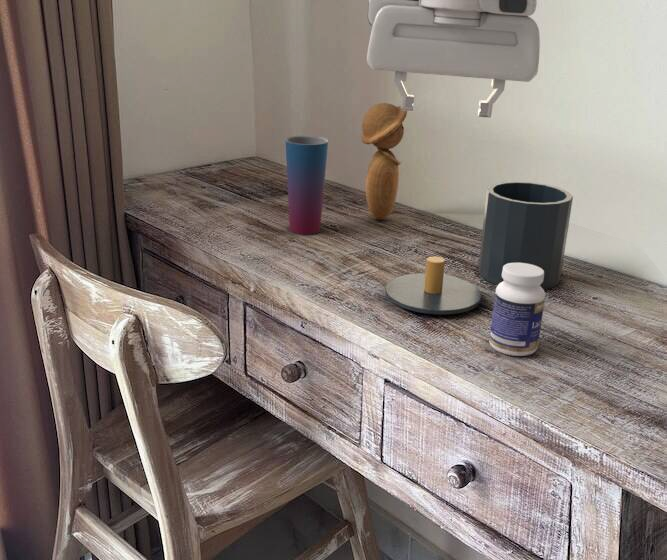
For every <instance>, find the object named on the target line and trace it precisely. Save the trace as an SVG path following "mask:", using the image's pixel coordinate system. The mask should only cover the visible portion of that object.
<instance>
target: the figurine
mask: <svg viewBox="0 0 667 560" xmlns="http://www.w3.org/2000/svg"><path fill="white" fill-rule="evenodd" d="M407 113H408V111H403V110H401V105H400V106H399V105H398V106H397V105H394V104H392V103H388V102H379V103H377V104H374V105H373V106H371V107H370V108H369V109H367V111H366V112H365V113H364V114H363V117H362V121H361V129H362V134H361V136H360V137H361V138H360V140H361V143H362V144H365V145H373V146H374V147H376V148H377V151H375V152H374V154H373V155H372V156H371V158H370V162H369V165H368V169H367V173H366V174H367V175H366V180H365V196H366V203H367V206H368V210H369V212H370V214H371V215H372V217H373V218H374V219H376V220H385V219H386V218H388V216H389V215H390V213H391V211H393V208H394V205H395V203H396V199H397V196H398V189H399V182H400V168H399V166H401V164H402V163H401V162H400V161H399V160H398V159H397V157H396V155H395V154H394V152H393V151H392V150H391V149H393V148H396V147H397V146H398V145H399V144H400V143H401V141H402V140H403V138H404V134H405V132H404V131H405V128H404V124H403V123H404V121H405V119H406V117H407V115H408V114H407Z"/></svg>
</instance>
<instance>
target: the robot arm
mask: <svg viewBox="0 0 667 560" xmlns="http://www.w3.org/2000/svg"><path fill="white" fill-rule="evenodd" d="M537 2H538V1H537V0H369V1H368V3H367V4H368V5H367V21H368V23H369V25H370V26H371V32H370V36H369V40H368V46H367V53H366V63H367V65H368V66H369V68H370V69H371V70H374V71H385V72H394V83H395V85H396V87H397V90H398V93H399V94H400V96H401V104H400V106H401V110H403V111H407V112H413V111H414V101H415V94H408V91H407V90H406V88H405V85H404V83H403V82H406V81H407V76H408V75H407V74H408V73H411V74H421V75H422V74H423V75H433V76H435V75H436V76H448V77H462V78H472V79H473V78H474V79H484V80H485V79H486V80H491V83H490V86H491V88H492V89H493V90H492V91H491V93H490V95H489V96H488V97H487V98H486V99H485V100H481V99H480V100H479V101H478V106H479V108H478V110H477V116H478V117H479V118H491V117H492V112H493V106H494V104H495V103H496V101H497V100H498V99H499V98H500V96H501V95H502V94H503V92H504V91H505V87H506V81H509V82H510V81H512V82H523V83H530V82H532V80H533V79H534V78H535V77H536V76H537V75H538V72H539V66H540V65H539V63H540V52H541V51H540V48H541V38H540V29H539V25H538V23H537V22H536V20H534V19H533V18H531V16H533V15H534V14H535V12H536V10H537V4H538V3H537Z"/></svg>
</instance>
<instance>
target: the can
mask: <svg viewBox="0 0 667 560" xmlns="http://www.w3.org/2000/svg"><path fill="white" fill-rule="evenodd" d="M573 198H574V197H573V195H572V193H571V192H570V191H568V190H565V189H563V188H561V187H558V186H555V185H551V184H547V183H540V182H534V181H520V180H519V181H518V180H517V181H516V180H512V181H500V182H496V183H492V184H490V185H488V187H487V188H486V195H485V204H484V213H483V222H482V229H481V230H482V231H481V232H482V233H481V240H480V250H479V258H478V274H479V275H480V277H481V278H482V279H484V280H485V281H487V282H489V283H491V284H492V285H493V284H494V285H495V286H498V285H499V284H500V283H501V282H503V281H504V279H503V278H502V270H503V266H504V265H505V264H508V263H527V264H532V265H535V266H538V267H540V268H541V269H543V270H544V279H543V282H542V283H541V284H540V286H541V287H542V288H543V290H547V289H551V288H553V287H555V286H557V285H559V283H560V280H561V277H562V272H563V265H564V258H565V254H566V253H565V251H566V245H567V238H568V232H569V227H570V226H569V225H570V218H571V214H572V213H571V212H572V206H573V200H574V199H573Z"/></svg>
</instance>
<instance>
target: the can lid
mask: <svg viewBox="0 0 667 560" xmlns="http://www.w3.org/2000/svg"><path fill="white" fill-rule="evenodd" d="M445 266H446V260H445V258H443V257H441V256H435V255H434V256H428V257H427V258H426V263H425V273H419V272H418V273H409V274H404V275H403V274H402V275H400V276H397V277H394V278H392V279H390V280H389V281H388V282H387V283H386V285H385V287H384V294H385V296H386V298H387V299H388V300H389V301H390V302H391V303H393V304H394V305H396V306H398V307H400V308H403V309H405V310H409V311H412V312H415V313H420V314H427V315H441V316H442V315H457V314H461V313H466V312H469V311H472V310H474V309H475V308H477V307H478V306H479V305H480V304H481V302H482V292H481V290H480V289H479V288H477V286H475V285H474V284H473V283H471V282H469V281H468V280H465V279H462V278H458V277H456V276H450V275H448V274H447V275H445Z"/></svg>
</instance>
